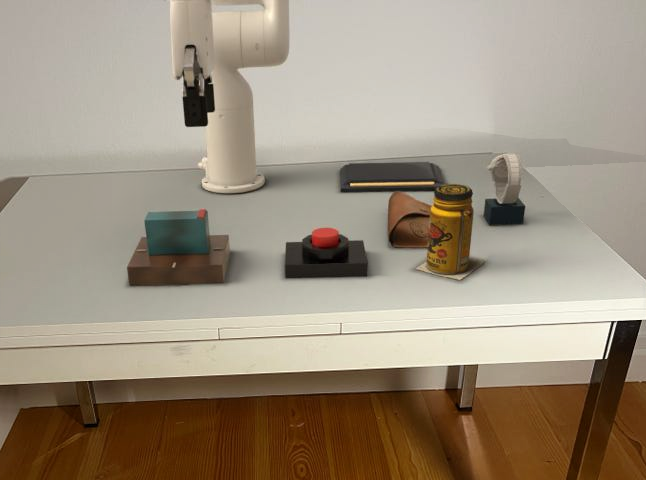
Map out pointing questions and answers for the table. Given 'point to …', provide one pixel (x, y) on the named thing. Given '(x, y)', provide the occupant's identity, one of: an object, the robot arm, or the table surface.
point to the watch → (505, 191)
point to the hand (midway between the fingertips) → (200, 119)
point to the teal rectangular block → (177, 232)
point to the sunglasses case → (408, 221)
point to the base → (180, 265)
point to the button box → (325, 259)
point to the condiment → (450, 233)
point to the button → (325, 237)
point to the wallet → (390, 177)
